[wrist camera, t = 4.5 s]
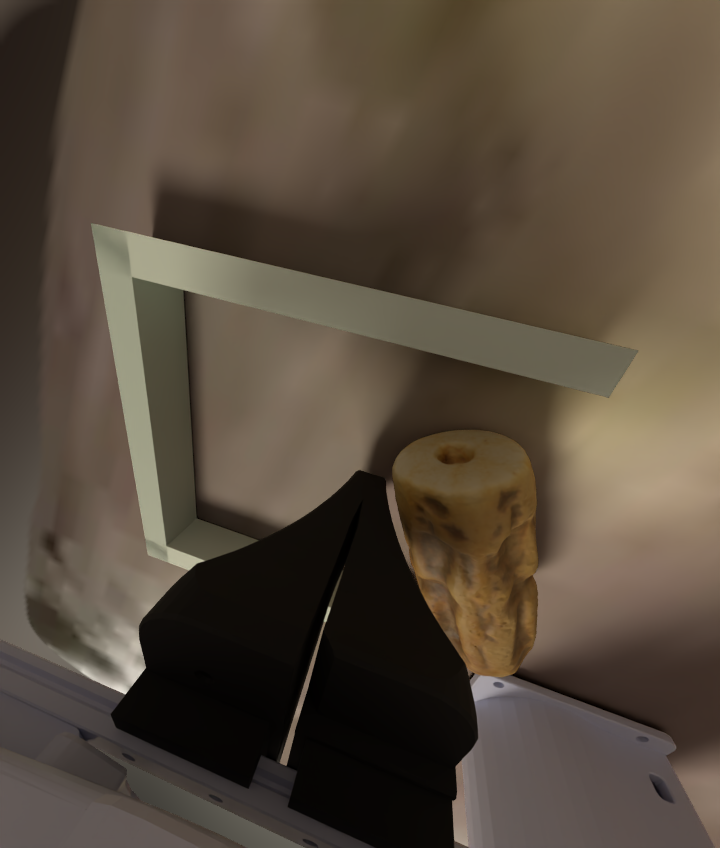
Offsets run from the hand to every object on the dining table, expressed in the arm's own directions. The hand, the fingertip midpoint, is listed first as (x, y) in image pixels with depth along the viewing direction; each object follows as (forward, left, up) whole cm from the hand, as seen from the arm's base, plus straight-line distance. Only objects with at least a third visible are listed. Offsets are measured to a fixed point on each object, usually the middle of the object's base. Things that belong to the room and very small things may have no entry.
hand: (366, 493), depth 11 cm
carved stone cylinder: (-4, 0, -1) cm, 4 cm away
